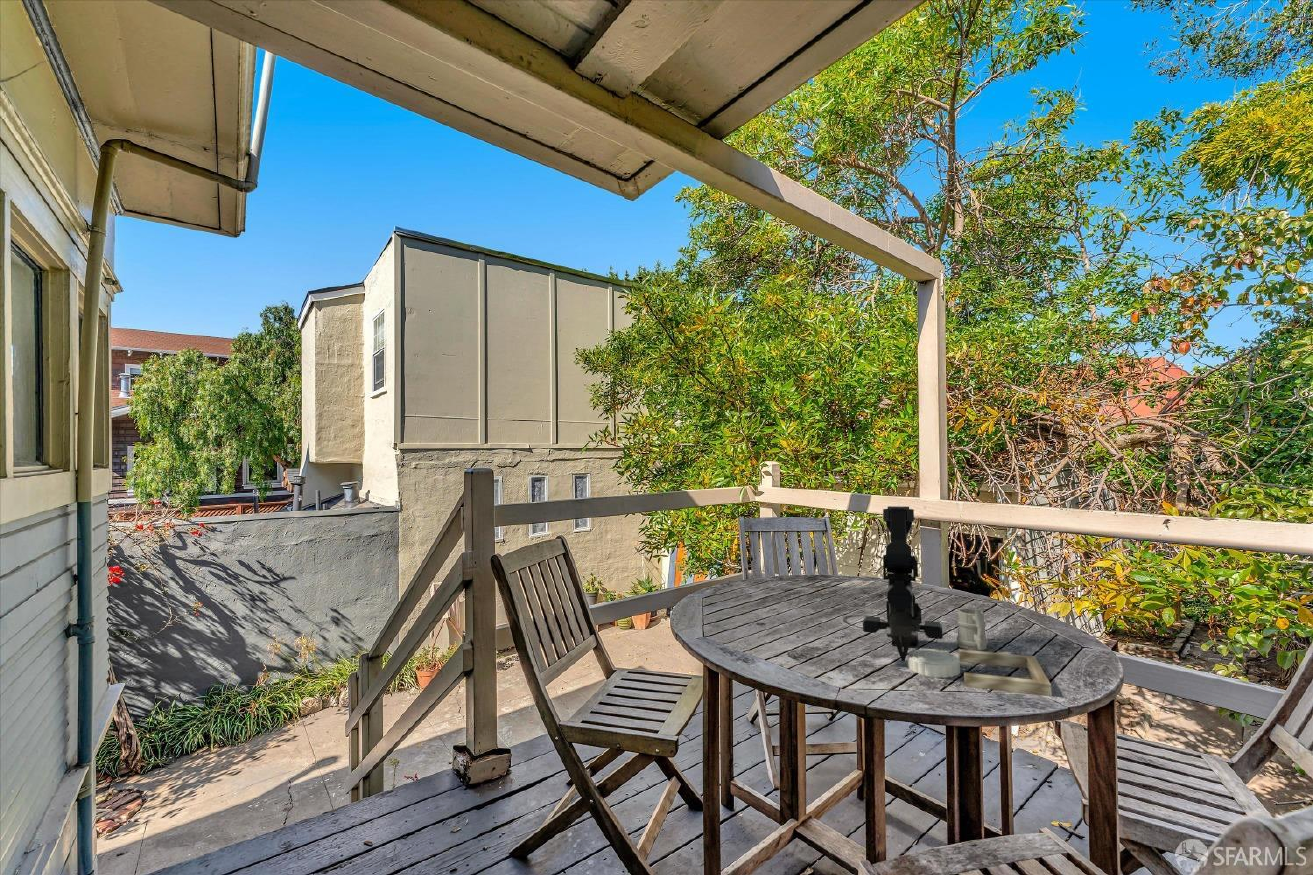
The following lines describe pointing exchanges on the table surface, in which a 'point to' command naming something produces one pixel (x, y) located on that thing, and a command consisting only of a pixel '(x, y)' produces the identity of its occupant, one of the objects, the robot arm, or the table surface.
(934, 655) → the mooncake
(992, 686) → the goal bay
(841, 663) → the table surface
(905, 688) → the table surface
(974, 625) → the mug
